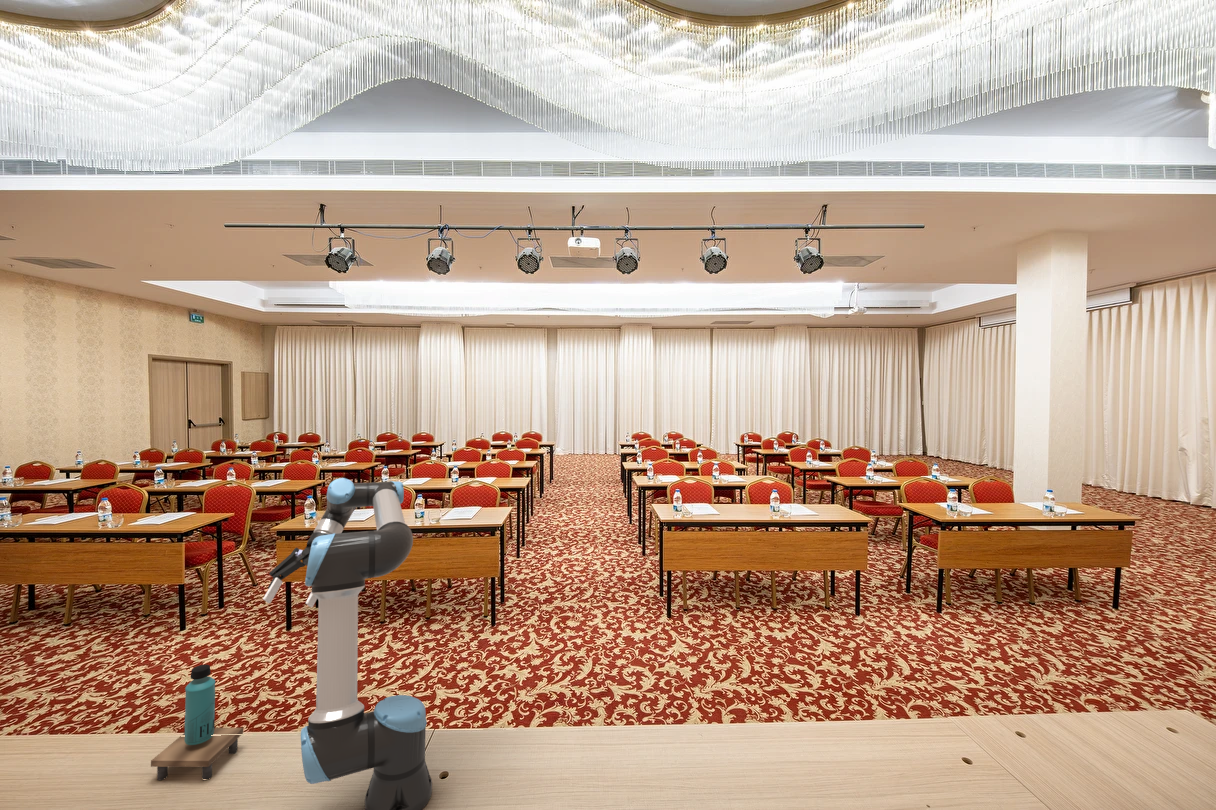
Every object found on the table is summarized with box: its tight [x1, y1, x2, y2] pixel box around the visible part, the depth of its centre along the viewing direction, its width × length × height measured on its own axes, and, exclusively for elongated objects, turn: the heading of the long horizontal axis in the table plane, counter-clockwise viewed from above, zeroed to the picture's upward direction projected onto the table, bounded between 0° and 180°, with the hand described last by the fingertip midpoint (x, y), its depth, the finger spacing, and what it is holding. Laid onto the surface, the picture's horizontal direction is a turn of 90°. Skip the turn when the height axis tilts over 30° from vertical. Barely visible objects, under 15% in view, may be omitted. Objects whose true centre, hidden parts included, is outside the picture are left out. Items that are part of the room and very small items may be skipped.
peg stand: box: [150, 727, 244, 781], centre depth 137 cm, size 14×13×6 cm
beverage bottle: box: [183, 664, 217, 745], centre depth 136 cm, size 6×7×20 cm
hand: (287, 603), depth 149 cm, fingers open, 13 cm apart
